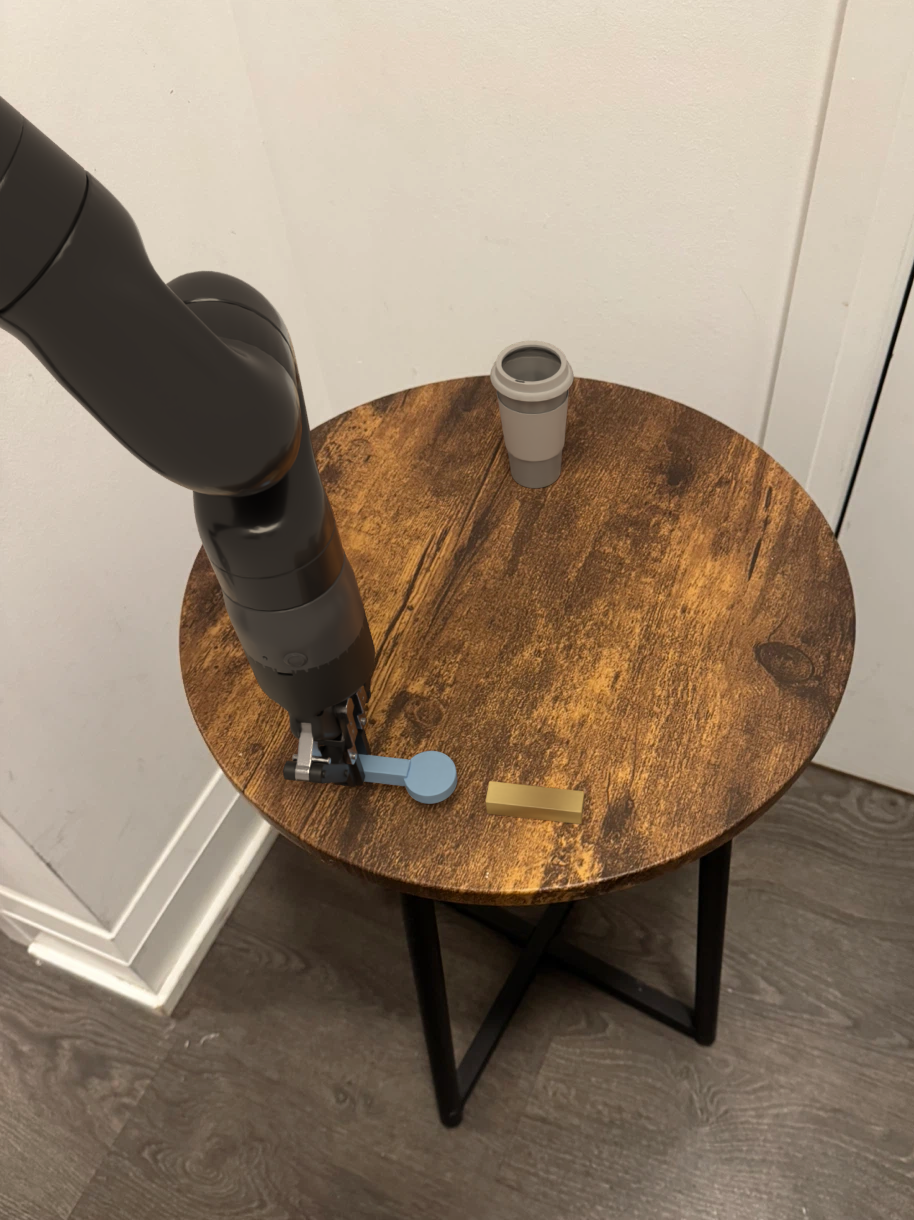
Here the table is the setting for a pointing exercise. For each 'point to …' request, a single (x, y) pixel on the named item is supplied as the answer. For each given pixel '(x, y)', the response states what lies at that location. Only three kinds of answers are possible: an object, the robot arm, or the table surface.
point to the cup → (533, 409)
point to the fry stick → (535, 802)
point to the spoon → (414, 774)
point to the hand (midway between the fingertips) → (353, 769)
